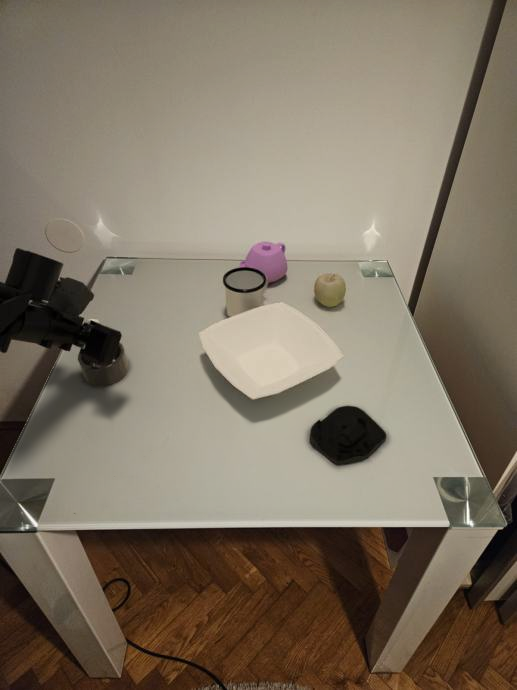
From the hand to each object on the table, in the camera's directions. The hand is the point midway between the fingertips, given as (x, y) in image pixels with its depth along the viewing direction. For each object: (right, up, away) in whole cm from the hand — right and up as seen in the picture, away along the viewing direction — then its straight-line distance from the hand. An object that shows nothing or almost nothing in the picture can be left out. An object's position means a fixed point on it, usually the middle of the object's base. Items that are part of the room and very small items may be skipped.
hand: (102, 338), depth 81 cm
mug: (+27, +7, +20) cm, 34 cm away
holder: (-1, -6, +4) cm, 7 cm away
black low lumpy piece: (+44, -17, -7) cm, 48 cm away
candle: (-1, -6, +3) cm, 7 cm away
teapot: (+30, +16, +30) cm, 45 cm away
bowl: (+31, -5, +6) cm, 32 cm away
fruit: (+46, +9, +22) cm, 51 cm away
